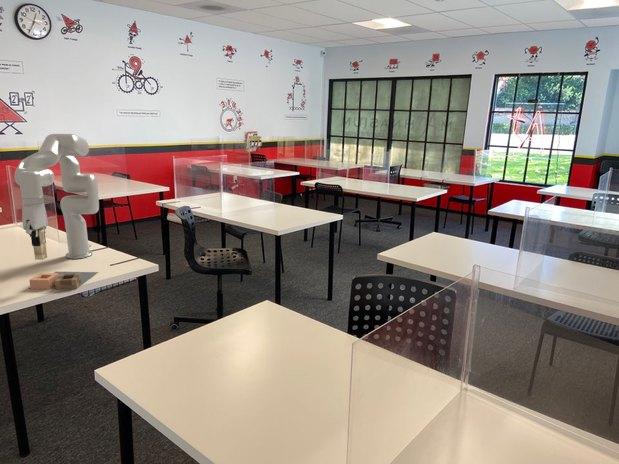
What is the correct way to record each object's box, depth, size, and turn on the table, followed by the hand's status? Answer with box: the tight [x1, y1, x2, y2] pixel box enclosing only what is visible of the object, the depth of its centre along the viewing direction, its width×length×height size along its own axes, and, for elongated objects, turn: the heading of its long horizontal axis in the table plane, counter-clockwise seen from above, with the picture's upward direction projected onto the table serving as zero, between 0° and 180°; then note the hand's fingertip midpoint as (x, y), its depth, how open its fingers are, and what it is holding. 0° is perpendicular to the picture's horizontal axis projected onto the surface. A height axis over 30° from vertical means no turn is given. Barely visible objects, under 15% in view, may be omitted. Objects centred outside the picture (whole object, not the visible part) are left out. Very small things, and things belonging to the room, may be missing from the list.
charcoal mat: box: [28, 271, 100, 291], centre depth 198 cm, size 21×20×1 cm
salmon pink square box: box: [28, 272, 59, 290], centre depth 191 cm, size 8×8×4 cm
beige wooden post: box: [32, 227, 48, 261], centre depth 186 cm, size 3×3×14 cm
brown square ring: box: [55, 273, 81, 291], centre depth 191 cm, size 8×8×4 cm
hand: (39, 244), depth 187 cm, fingers closed on beige wooden post, 3 cm apart
